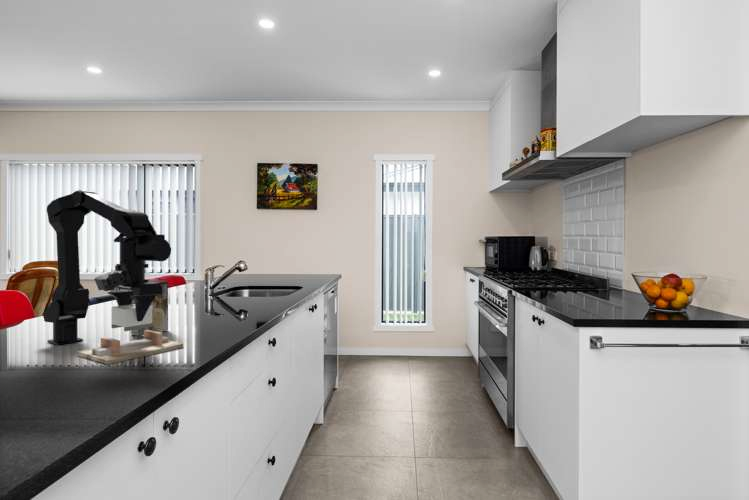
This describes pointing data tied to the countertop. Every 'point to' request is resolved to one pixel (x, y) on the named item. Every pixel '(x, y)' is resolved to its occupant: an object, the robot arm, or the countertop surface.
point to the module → (130, 318)
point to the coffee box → (157, 312)
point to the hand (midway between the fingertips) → (132, 319)
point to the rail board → (129, 348)
